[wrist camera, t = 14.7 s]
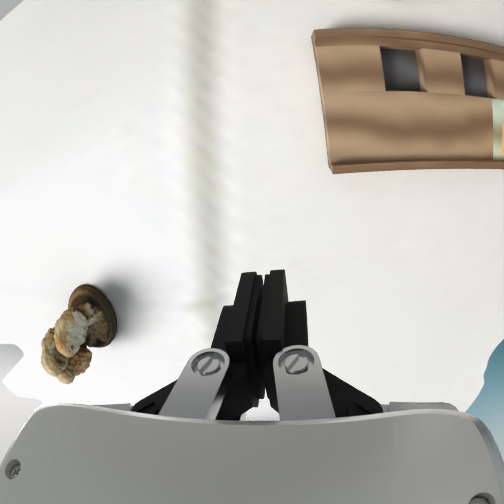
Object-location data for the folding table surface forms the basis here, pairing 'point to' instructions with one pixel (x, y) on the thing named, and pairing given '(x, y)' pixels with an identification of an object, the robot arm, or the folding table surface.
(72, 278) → the folding table surface
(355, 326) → the folding table surface
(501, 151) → the block
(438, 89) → the box
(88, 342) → the brown lumpy sculpture
